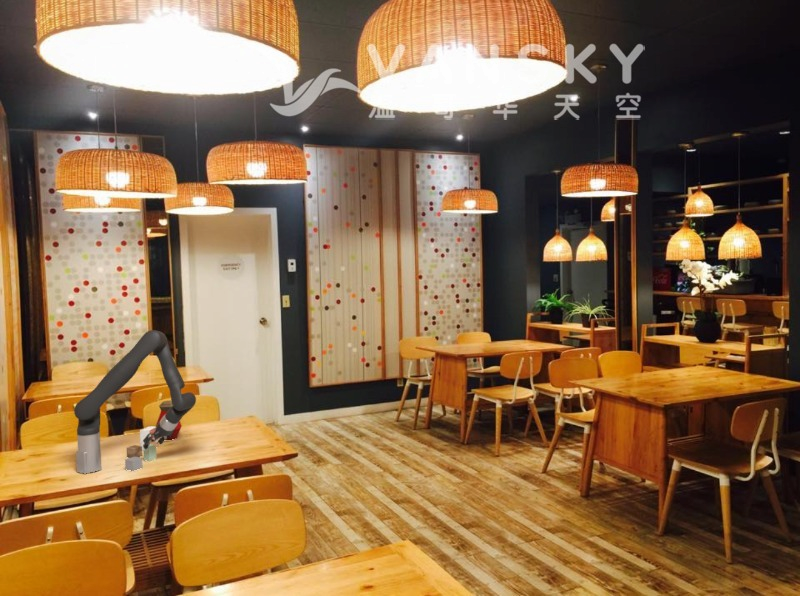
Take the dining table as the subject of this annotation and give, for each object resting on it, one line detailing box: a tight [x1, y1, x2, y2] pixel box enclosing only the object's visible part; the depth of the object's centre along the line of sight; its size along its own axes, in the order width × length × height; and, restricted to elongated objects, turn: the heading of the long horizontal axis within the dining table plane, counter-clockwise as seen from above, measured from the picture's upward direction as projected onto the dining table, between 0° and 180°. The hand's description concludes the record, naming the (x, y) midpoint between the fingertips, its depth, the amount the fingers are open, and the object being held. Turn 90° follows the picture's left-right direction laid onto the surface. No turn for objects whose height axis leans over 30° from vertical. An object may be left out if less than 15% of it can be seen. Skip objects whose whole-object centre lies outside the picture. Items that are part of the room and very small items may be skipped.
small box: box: [139, 425, 160, 451], centre depth 322 cm, size 8×6×10 cm
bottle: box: [155, 400, 182, 441], centre depth 339 cm, size 16×14×20 cm
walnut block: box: [126, 444, 144, 459], centre depth 308 cm, size 5×5×5 cm
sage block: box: [142, 444, 157, 462], centre depth 303 cm, size 4×4×7 cm
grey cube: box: [124, 457, 143, 472], centre depth 289 cm, size 5×5×5 cm
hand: (152, 445), depth 302 cm, fingers open, 8 cm apart
